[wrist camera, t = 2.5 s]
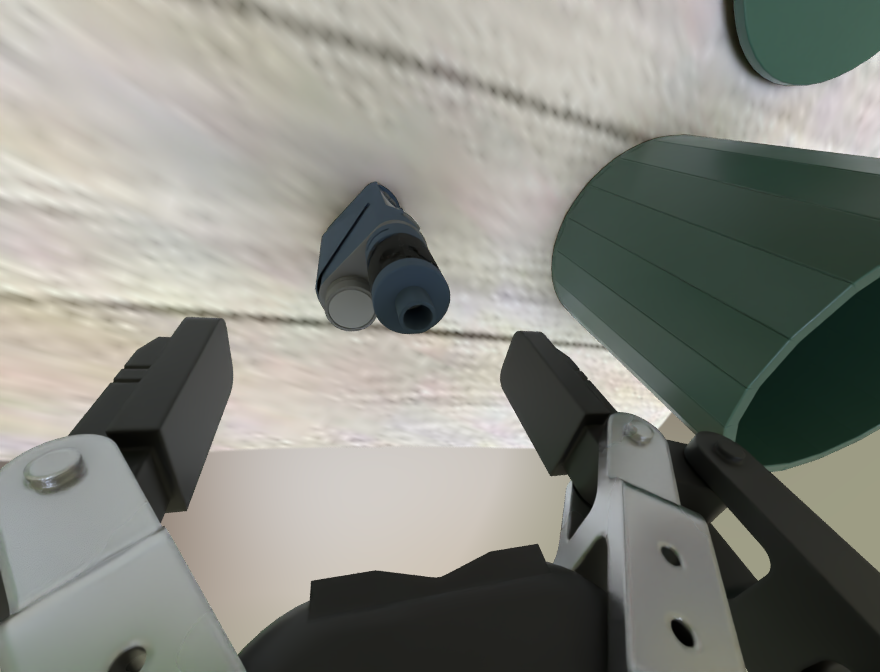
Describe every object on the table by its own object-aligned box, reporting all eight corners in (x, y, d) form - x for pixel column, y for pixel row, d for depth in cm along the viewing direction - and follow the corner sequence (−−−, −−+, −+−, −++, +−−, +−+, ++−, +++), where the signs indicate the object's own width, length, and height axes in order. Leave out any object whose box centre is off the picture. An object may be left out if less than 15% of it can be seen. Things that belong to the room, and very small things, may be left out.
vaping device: (411, 206, 20) (479, 314, 10) (349, 269, 21) (356, 420, 11) (378, 169, 18) (419, 256, 9) (312, 240, 19) (286, 384, 10)
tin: (602, 113, 19) (960, 142, 8) (766, 156, 23) (1161, 216, 12) (526, 318, 26) (663, 486, 15) (662, 325, 30) (850, 462, 19)
